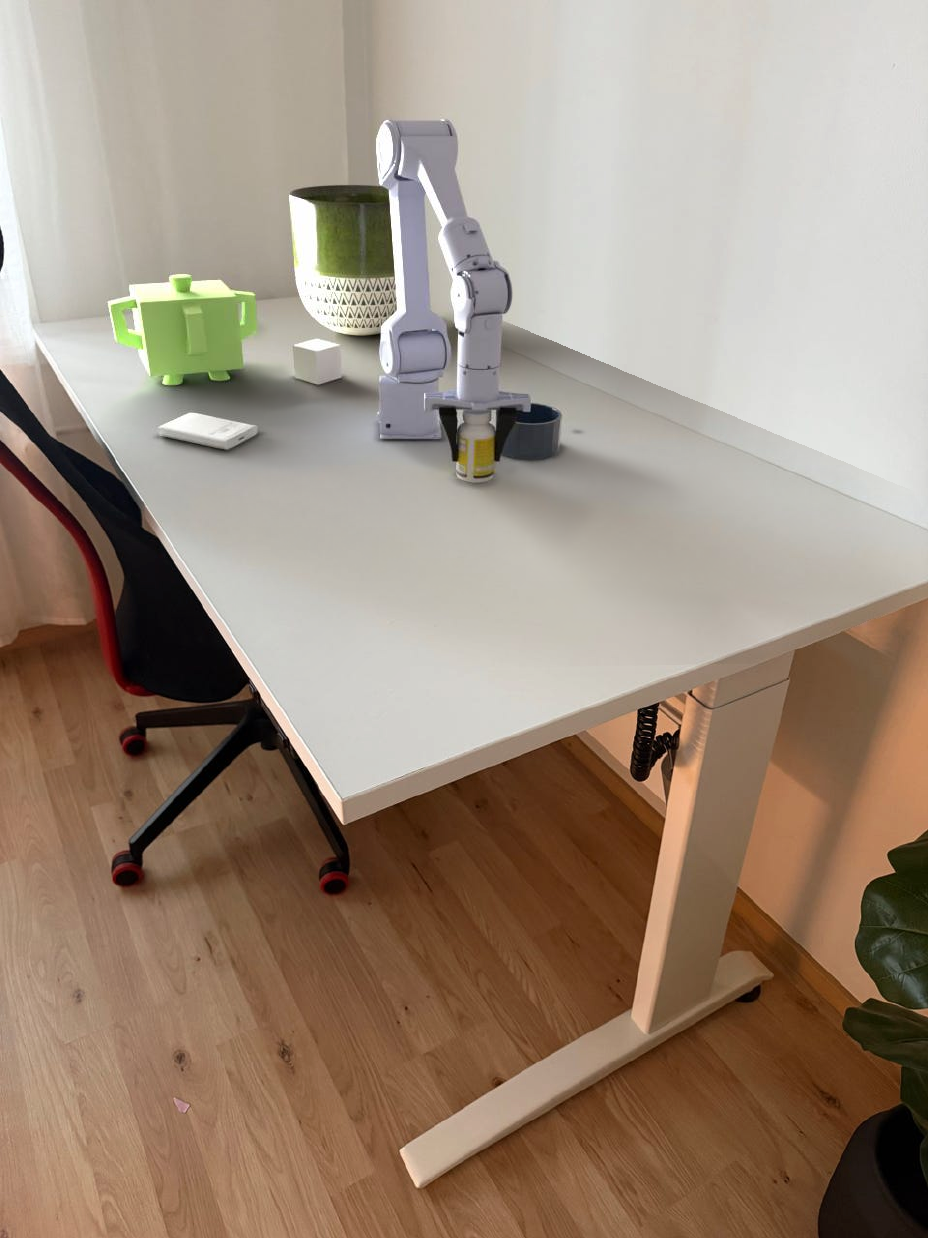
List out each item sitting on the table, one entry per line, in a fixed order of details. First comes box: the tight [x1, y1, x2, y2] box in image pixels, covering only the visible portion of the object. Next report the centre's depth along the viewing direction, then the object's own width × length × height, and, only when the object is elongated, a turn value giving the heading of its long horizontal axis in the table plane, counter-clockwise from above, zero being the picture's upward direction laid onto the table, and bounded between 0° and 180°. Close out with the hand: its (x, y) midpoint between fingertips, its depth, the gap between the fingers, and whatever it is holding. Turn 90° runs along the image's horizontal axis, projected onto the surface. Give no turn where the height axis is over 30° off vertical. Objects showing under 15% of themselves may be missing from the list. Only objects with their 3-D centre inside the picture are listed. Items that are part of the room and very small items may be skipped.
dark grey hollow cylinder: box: [494, 402, 563, 461], centre depth 145 cm, size 10×10×6 cm
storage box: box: [107, 273, 259, 386], centre depth 169 cm, size 25×23×17 cm
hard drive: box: [158, 412, 258, 451], centre depth 146 cm, size 2×8×12 cm
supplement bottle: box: [455, 410, 496, 483], centre depth 132 cm, size 5×5×10 cm
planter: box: [288, 184, 398, 336], centre depth 195 cm, size 27×27×27 cm
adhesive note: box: [292, 338, 342, 385], centre depth 172 cm, size 6×6×6 cm
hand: (475, 459), depth 134 cm, fingers closed on supplement bottle, 5 cm apart
